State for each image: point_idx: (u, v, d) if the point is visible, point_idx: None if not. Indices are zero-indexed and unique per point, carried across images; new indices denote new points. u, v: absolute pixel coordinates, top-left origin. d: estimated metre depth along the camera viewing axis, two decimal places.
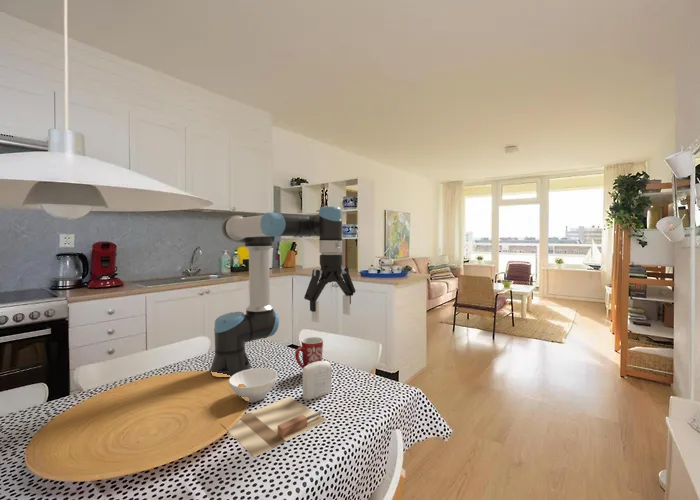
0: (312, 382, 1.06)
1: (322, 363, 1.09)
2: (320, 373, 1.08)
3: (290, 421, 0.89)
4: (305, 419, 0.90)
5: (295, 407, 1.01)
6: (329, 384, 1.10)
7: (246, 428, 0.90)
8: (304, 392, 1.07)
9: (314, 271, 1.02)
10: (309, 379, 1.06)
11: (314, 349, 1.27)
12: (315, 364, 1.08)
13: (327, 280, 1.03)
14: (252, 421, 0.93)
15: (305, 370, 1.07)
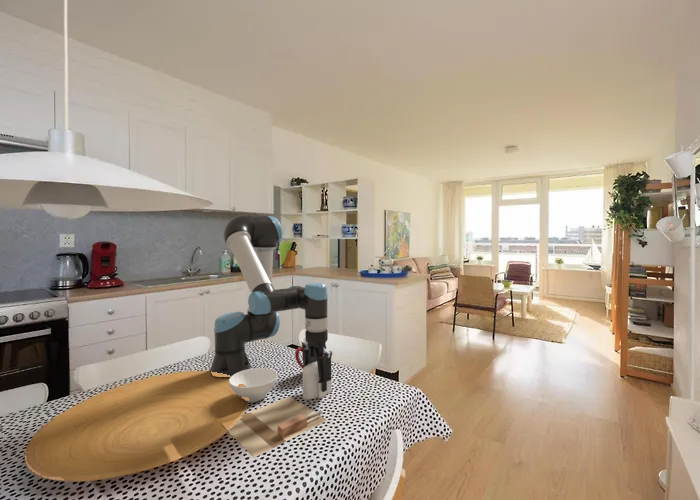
0: (312, 382, 1.06)
1: None
2: None
3: (290, 421, 0.89)
4: (305, 419, 0.90)
5: (295, 407, 1.01)
6: (329, 384, 1.10)
7: (246, 428, 0.90)
8: (304, 392, 1.06)
9: None
10: (309, 379, 1.06)
11: None
12: (315, 364, 1.08)
13: (309, 355, 1.10)
14: (252, 421, 0.93)
15: (305, 370, 1.06)
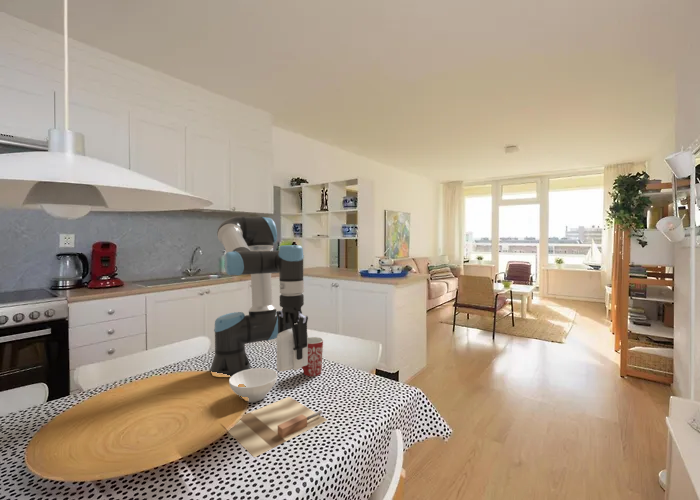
0: (286, 349, 0.99)
1: None
2: None
3: (290, 421, 0.89)
4: (305, 419, 0.90)
5: (295, 407, 1.01)
6: (305, 352, 1.03)
7: (246, 428, 0.90)
8: (278, 360, 0.99)
9: None
10: (283, 346, 0.99)
11: (314, 349, 1.27)
12: (290, 331, 1.01)
13: (283, 321, 1.02)
14: (252, 421, 0.93)
15: (279, 337, 0.99)
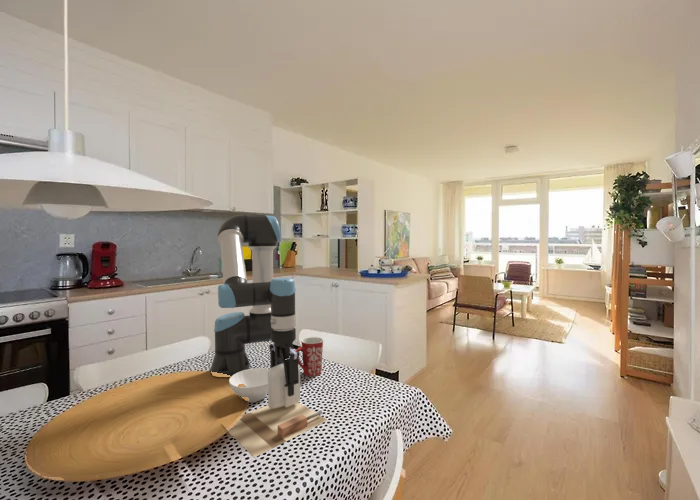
0: (277, 385, 0.97)
1: None
2: None
3: (290, 421, 0.89)
4: (305, 419, 0.90)
5: (295, 407, 1.01)
6: (297, 388, 1.01)
7: (246, 428, 0.90)
8: (269, 397, 0.97)
9: None
10: (274, 383, 0.97)
11: (314, 349, 1.27)
12: (281, 366, 0.99)
13: (275, 356, 1.01)
14: (252, 421, 0.93)
15: (270, 373, 0.97)
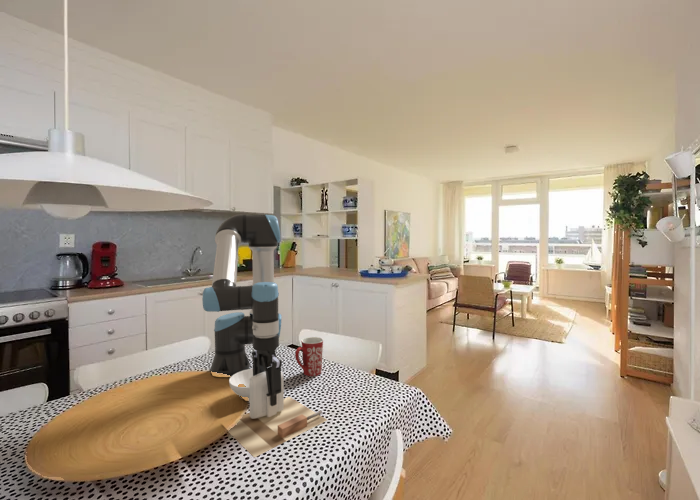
0: (259, 395, 0.93)
1: None
2: None
3: (290, 421, 0.89)
4: (305, 419, 0.90)
5: (295, 407, 1.01)
6: (281, 397, 0.97)
7: (246, 428, 0.90)
8: (250, 406, 0.93)
9: None
10: (256, 392, 0.93)
11: (314, 349, 1.27)
12: (264, 374, 0.95)
13: (257, 364, 0.96)
14: (252, 421, 0.93)
15: (251, 381, 0.93)
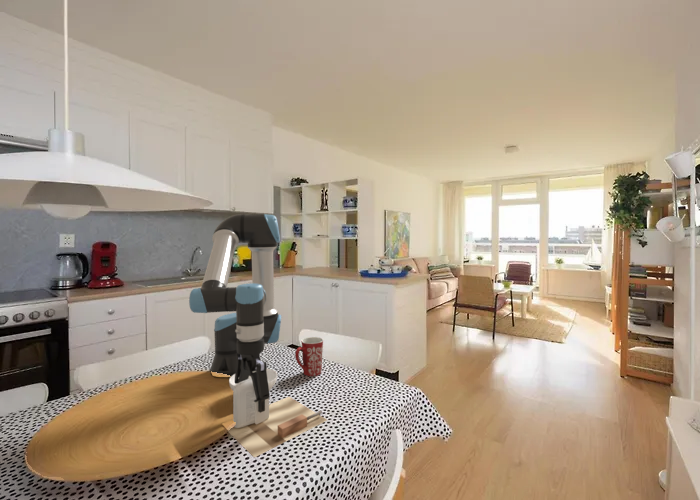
0: (243, 403, 0.90)
1: None
2: (254, 391, 0.91)
3: (290, 421, 0.89)
4: (305, 419, 0.90)
5: (295, 407, 1.01)
6: (266, 404, 0.94)
7: (246, 428, 0.90)
8: (234, 415, 0.90)
9: None
10: (240, 400, 0.89)
11: (314, 349, 1.27)
12: (248, 381, 0.91)
13: (241, 367, 0.93)
14: None
15: (235, 389, 0.90)
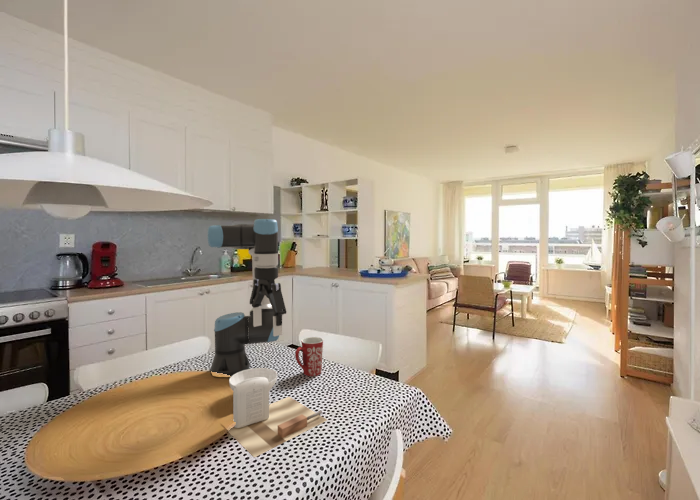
0: (243, 403, 0.90)
1: (257, 380, 0.93)
2: (254, 392, 0.91)
3: (290, 421, 0.89)
4: (305, 419, 0.90)
5: (295, 407, 1.01)
6: (266, 404, 0.94)
7: (246, 428, 0.90)
8: (234, 415, 0.90)
9: None
10: (240, 400, 0.89)
11: (314, 349, 1.27)
12: (248, 382, 0.91)
13: (257, 291, 1.07)
14: None
15: (235, 389, 0.90)
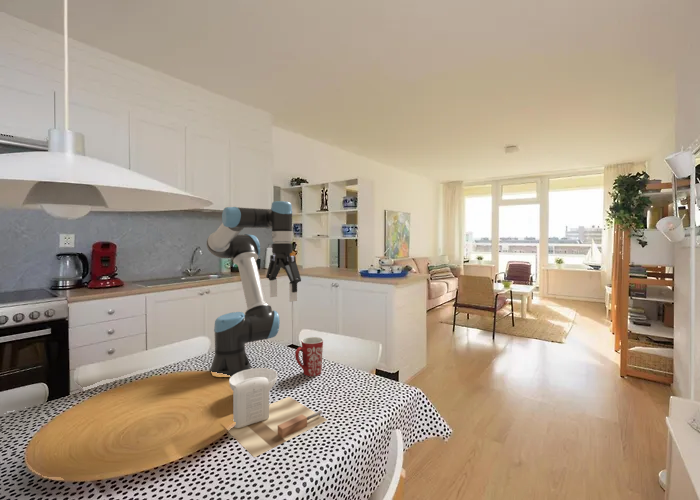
0: (243, 403, 0.90)
1: (257, 380, 0.93)
2: (254, 392, 0.91)
3: (290, 421, 0.89)
4: (305, 419, 0.90)
5: (295, 407, 1.01)
6: (266, 404, 0.94)
7: (246, 428, 0.90)
8: (234, 415, 0.90)
9: None
10: (240, 400, 0.89)
11: (314, 349, 1.27)
12: (248, 382, 0.91)
13: (274, 264, 1.23)
14: None
15: (235, 389, 0.90)
